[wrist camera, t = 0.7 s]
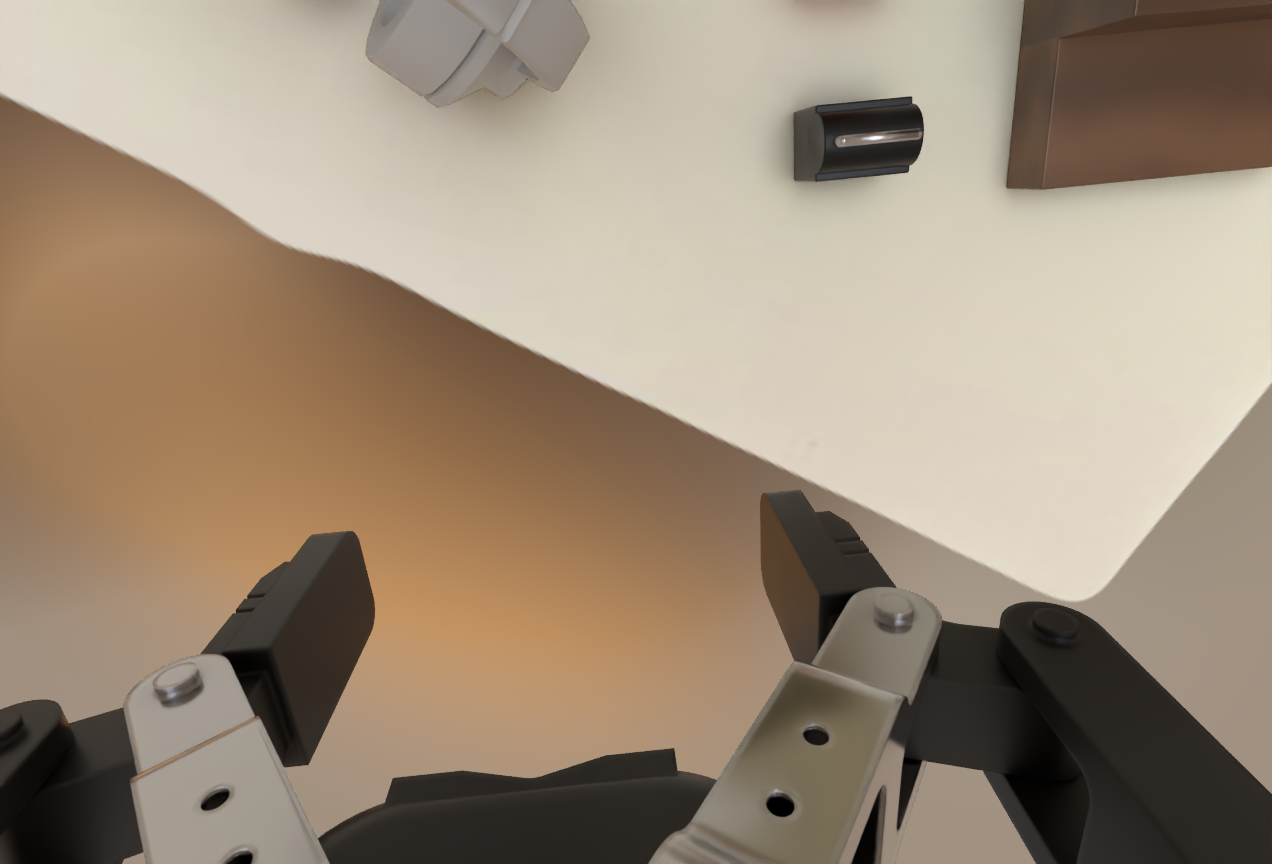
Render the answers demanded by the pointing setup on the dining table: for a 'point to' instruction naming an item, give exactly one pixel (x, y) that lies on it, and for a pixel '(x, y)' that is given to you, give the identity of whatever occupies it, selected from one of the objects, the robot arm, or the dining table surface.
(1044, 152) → the wooden step stairs
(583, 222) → the dining table surface
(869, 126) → the black lunch box
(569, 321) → the dining table surface
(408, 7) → the headphones
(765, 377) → the dining table surface
